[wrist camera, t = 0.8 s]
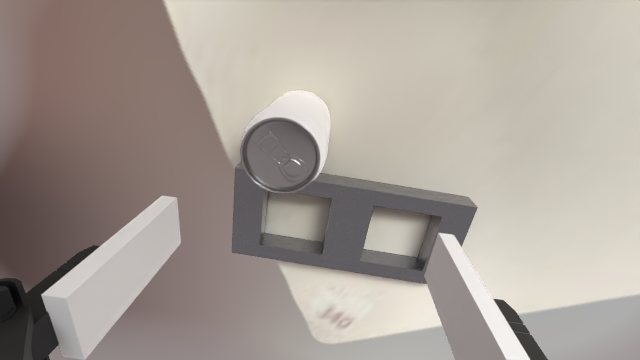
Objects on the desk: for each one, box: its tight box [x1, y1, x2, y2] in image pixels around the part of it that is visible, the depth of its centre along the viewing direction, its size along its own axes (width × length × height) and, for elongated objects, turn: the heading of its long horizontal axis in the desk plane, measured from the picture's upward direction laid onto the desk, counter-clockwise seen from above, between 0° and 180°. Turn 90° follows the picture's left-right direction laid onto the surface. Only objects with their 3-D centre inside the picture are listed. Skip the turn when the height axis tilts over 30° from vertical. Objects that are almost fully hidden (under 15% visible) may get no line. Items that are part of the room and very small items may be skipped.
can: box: [241, 90, 331, 194], centre depth 26 cm, size 6×6×12 cm
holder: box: [232, 161, 478, 284], centre depth 35 cm, size 11×26×2 cm, turn 81°
